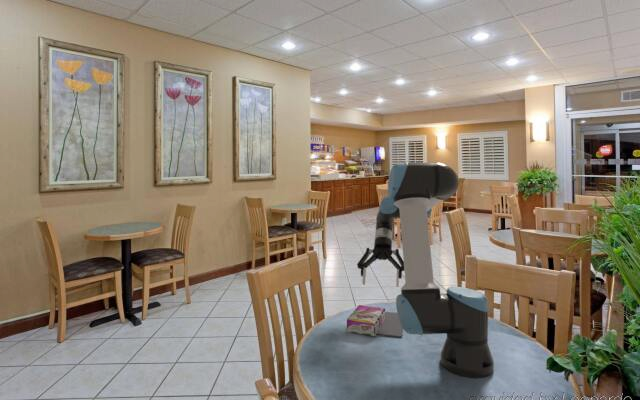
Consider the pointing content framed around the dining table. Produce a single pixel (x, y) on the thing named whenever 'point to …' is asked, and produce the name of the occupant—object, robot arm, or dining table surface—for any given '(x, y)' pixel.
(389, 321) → the charcoal mat
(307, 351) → the dining table surface
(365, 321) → the candy bar box
